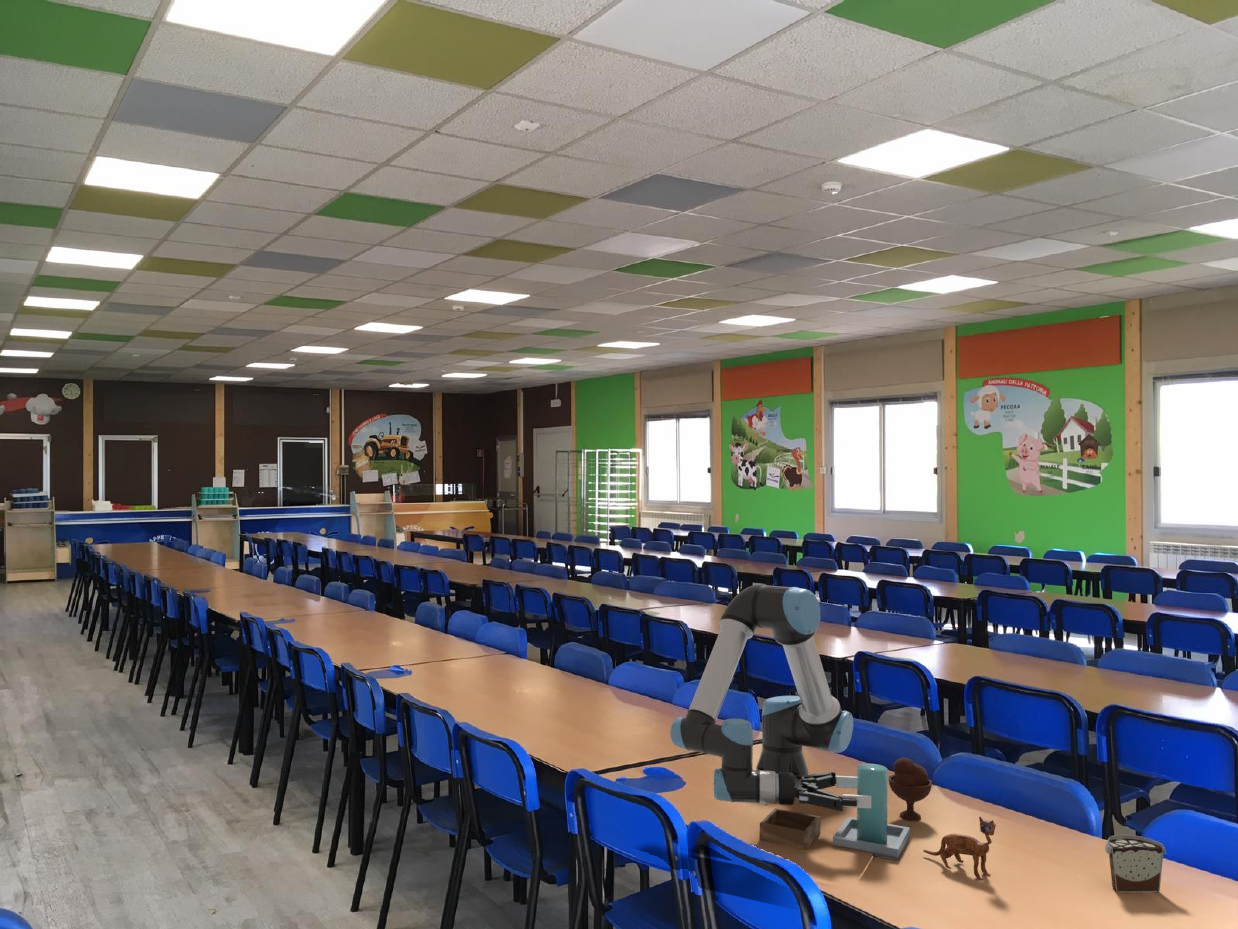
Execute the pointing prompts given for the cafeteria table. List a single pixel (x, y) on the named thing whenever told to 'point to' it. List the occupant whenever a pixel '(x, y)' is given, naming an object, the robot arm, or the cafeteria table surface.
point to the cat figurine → (967, 847)
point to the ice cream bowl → (910, 785)
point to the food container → (1135, 863)
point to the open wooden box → (790, 828)
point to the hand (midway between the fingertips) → (867, 792)
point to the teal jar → (872, 803)
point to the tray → (890, 850)
